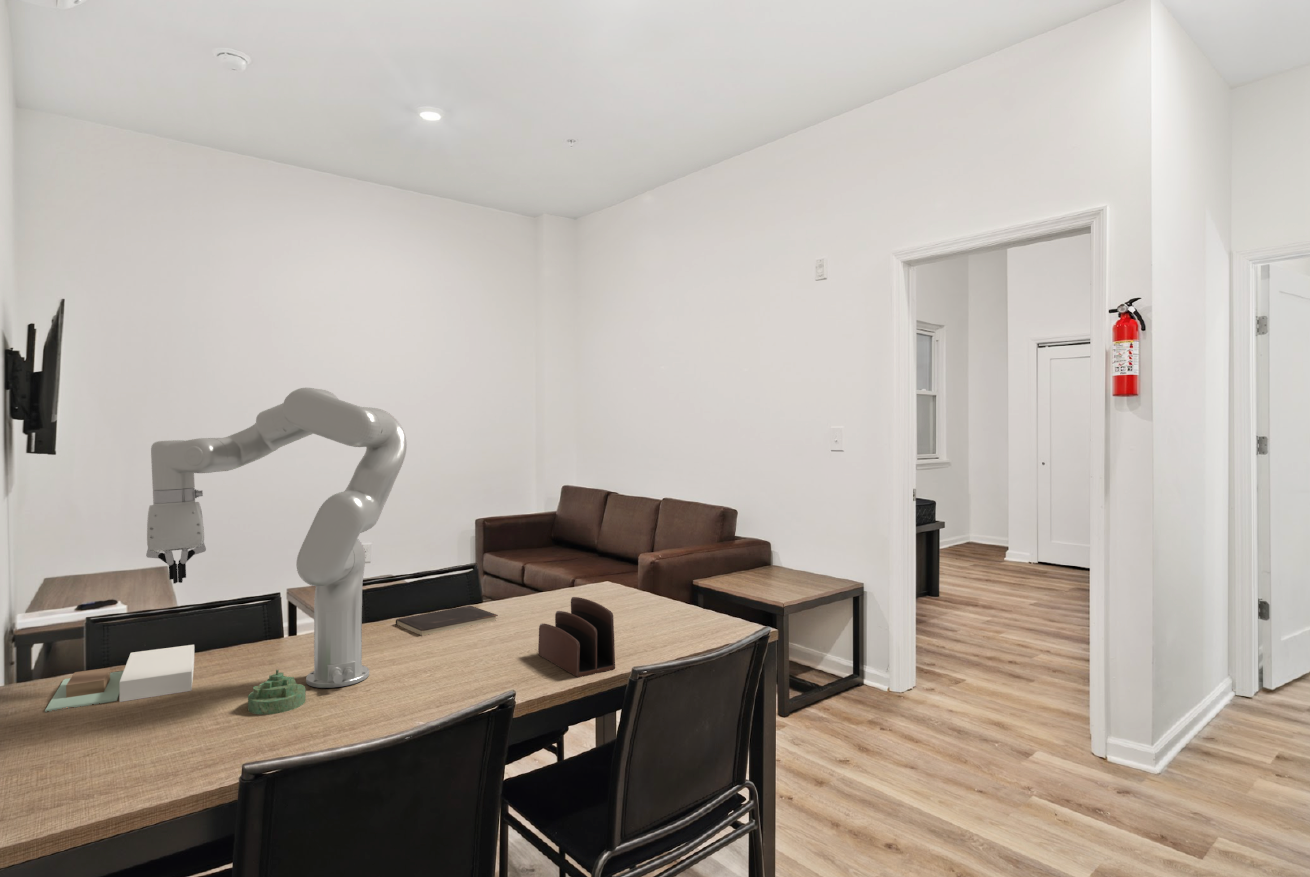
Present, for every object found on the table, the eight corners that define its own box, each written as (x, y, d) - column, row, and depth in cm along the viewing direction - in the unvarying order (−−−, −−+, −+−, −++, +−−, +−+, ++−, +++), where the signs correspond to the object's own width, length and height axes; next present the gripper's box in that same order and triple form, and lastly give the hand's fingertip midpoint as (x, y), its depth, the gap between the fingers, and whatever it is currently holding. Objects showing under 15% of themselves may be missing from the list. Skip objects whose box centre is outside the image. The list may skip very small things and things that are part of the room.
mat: (116, 700, 141) (116, 698, 141) (45, 712, 135) (45, 710, 135) (127, 672, 158) (127, 670, 158) (64, 681, 152) (64, 679, 152)
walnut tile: (66, 685, 142) (66, 697, 142) (103, 680, 145) (103, 692, 145) (74, 672, 149) (74, 684, 149) (110, 667, 152) (110, 679, 152)
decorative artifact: (315, 696, 145) (267, 695, 145) (315, 662, 145) (267, 661, 145) (288, 715, 135) (236, 715, 135) (288, 679, 135) (236, 678, 135)
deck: (191, 690, 147) (191, 671, 147) (119, 702, 141) (119, 682, 141) (194, 661, 166) (194, 644, 166) (130, 670, 159) (130, 652, 159)
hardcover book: (497, 622, 203) (497, 614, 203) (421, 638, 187) (421, 629, 187) (469, 612, 214) (469, 605, 214) (395, 626, 198) (395, 618, 198)
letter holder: (573, 648, 178) (573, 592, 178) (615, 670, 161) (616, 608, 161) (537, 655, 172) (537, 597, 172) (577, 678, 156) (577, 615, 156)
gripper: (214, 493, 160) (218, 574, 160) (132, 499, 152) (136, 584, 152) (215, 495, 154) (218, 580, 154) (129, 501, 146) (133, 590, 146)
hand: (178, 582), depth 153 cm, fingers closed
